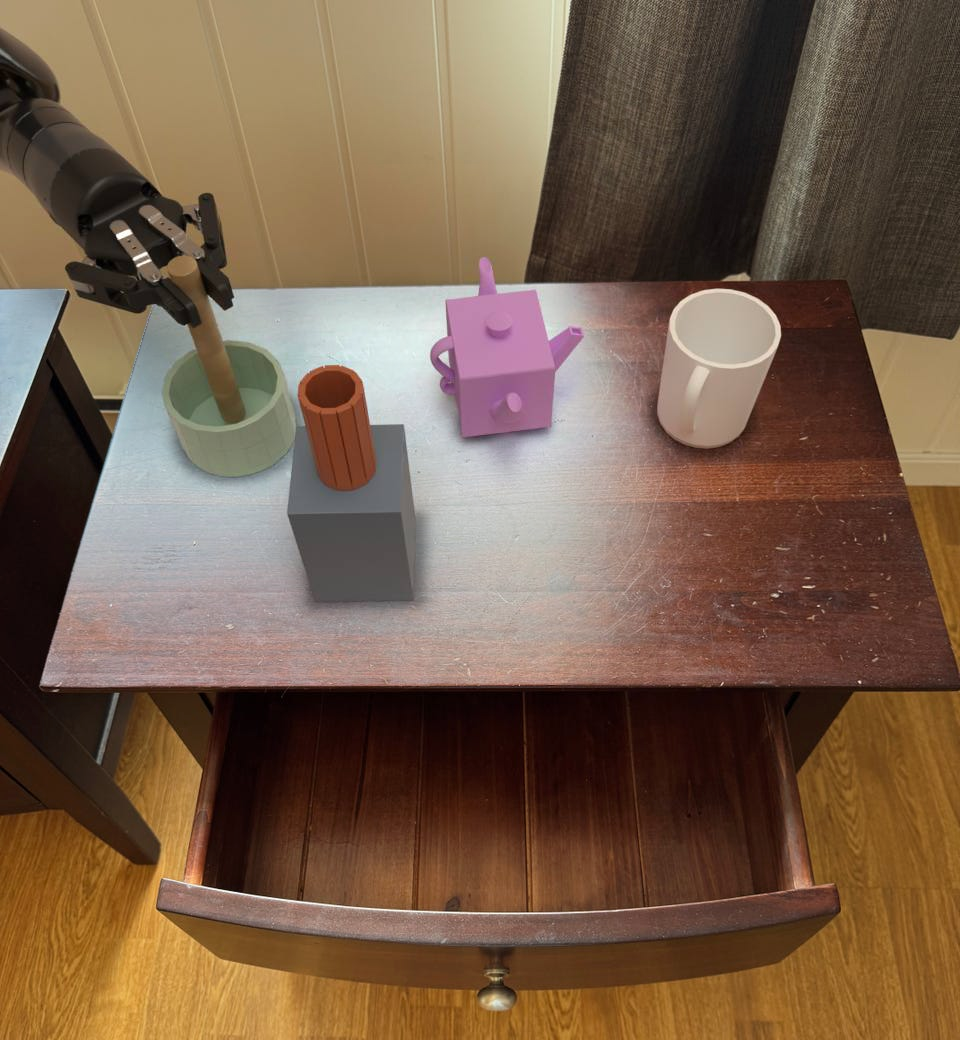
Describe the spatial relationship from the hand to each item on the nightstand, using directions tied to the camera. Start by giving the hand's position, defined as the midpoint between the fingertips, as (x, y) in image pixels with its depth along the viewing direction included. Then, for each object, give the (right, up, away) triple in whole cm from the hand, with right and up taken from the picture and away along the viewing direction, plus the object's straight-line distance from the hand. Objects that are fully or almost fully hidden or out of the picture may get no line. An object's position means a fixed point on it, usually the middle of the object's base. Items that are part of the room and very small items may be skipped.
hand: (211, 307), depth 71 cm
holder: (+10, -18, +8) cm, 22 cm away
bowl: (-2, -6, +15) cm, 16 cm away
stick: (-2, -5, +13) cm, 14 cm away
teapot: (+22, -3, +17) cm, 28 cm away
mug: (+39, -5, +15) cm, 42 cm away
